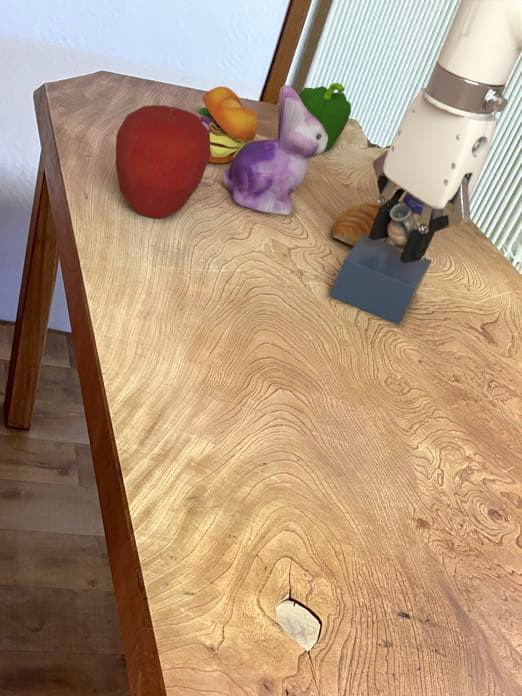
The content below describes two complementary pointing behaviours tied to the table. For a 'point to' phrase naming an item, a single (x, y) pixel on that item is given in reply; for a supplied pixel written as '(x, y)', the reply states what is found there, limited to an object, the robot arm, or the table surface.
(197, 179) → the apple
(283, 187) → the figurine
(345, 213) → the pastry
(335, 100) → the bell pepper
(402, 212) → the vase
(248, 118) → the cheeseburger
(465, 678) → the table surface
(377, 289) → the block
